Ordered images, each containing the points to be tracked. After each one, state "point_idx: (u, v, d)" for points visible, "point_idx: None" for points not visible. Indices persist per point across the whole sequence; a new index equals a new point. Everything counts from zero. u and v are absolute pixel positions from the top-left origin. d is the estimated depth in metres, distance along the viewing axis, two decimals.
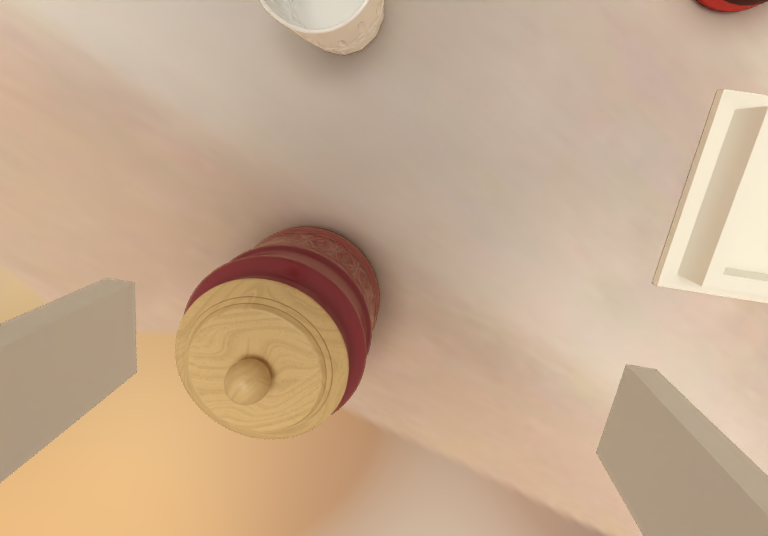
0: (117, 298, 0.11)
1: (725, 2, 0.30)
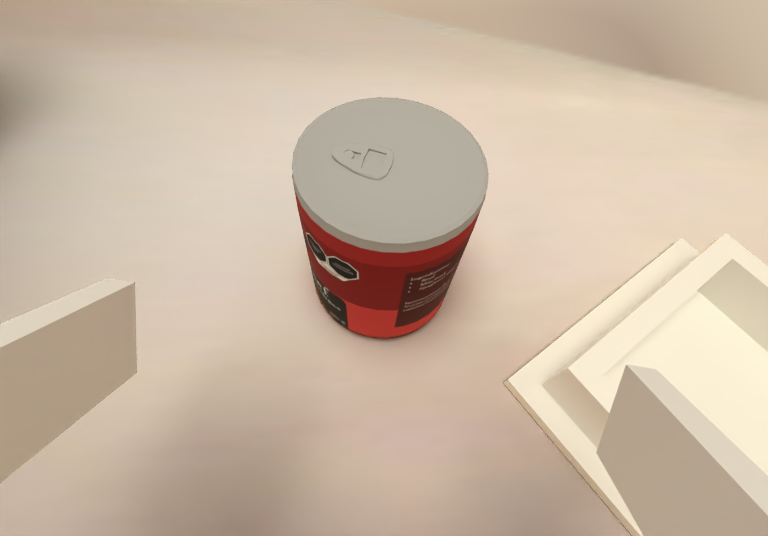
0: (117, 298, 0.11)
1: (413, 323, 0.23)
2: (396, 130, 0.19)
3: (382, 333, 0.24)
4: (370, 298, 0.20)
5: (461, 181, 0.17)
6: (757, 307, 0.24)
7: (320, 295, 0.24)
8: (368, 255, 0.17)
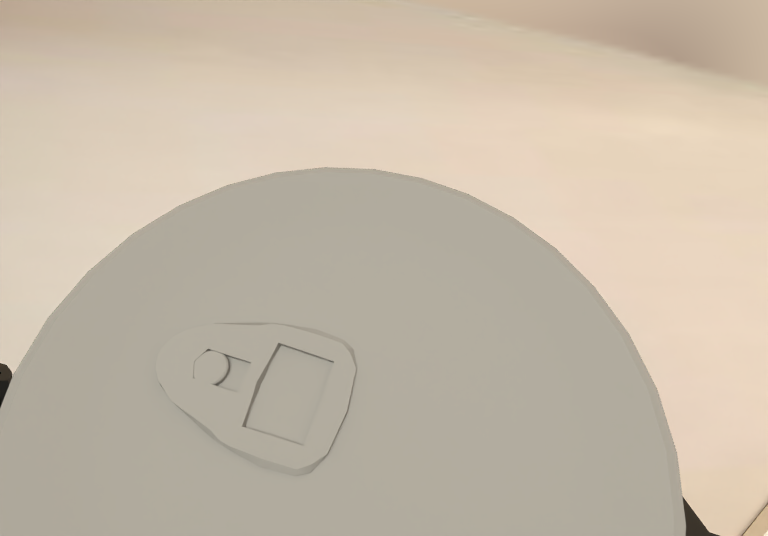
0: None
1: None
2: (369, 268, 0.06)
3: None
4: None
5: (585, 478, 0.05)
6: None
7: None
8: None
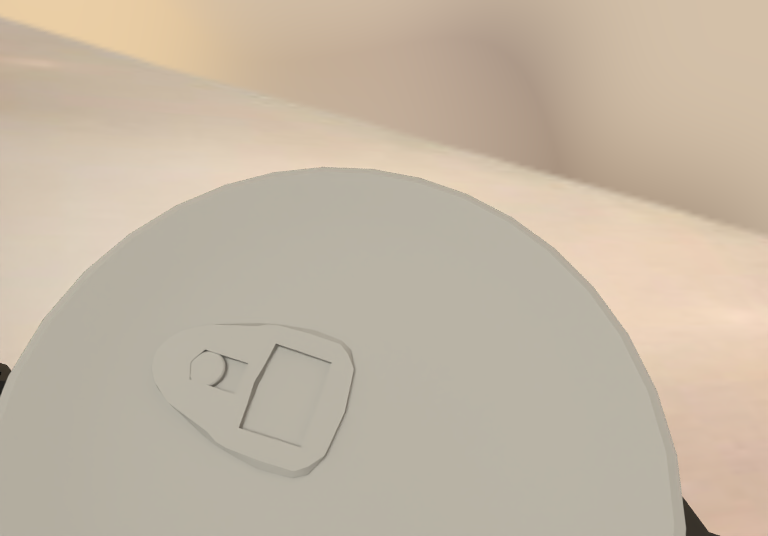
0: None
1: None
2: (367, 268, 0.06)
3: None
4: None
5: (584, 480, 0.05)
6: None
7: None
8: None
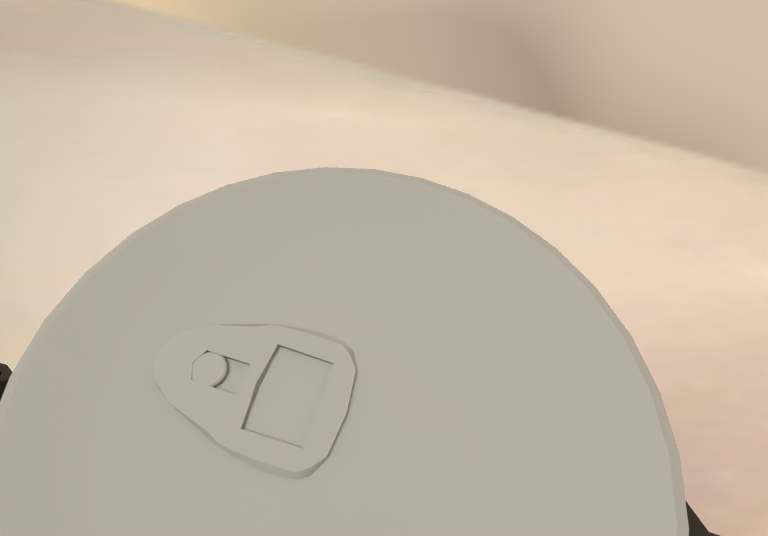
0: None
1: None
2: (369, 268, 0.06)
3: None
4: None
5: (586, 481, 0.05)
6: None
7: None
8: None
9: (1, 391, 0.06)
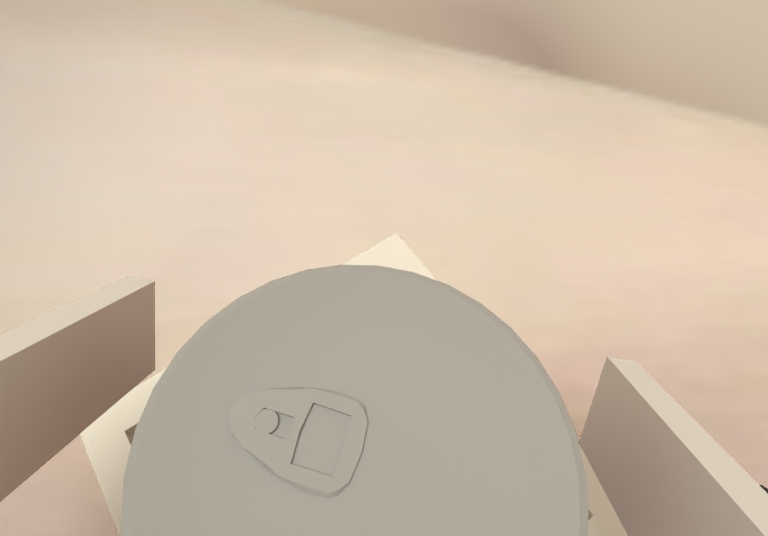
0: (138, 296, 0.11)
1: None
2: (375, 342, 0.09)
3: None
4: None
5: (524, 498, 0.07)
6: None
7: None
8: None
9: None
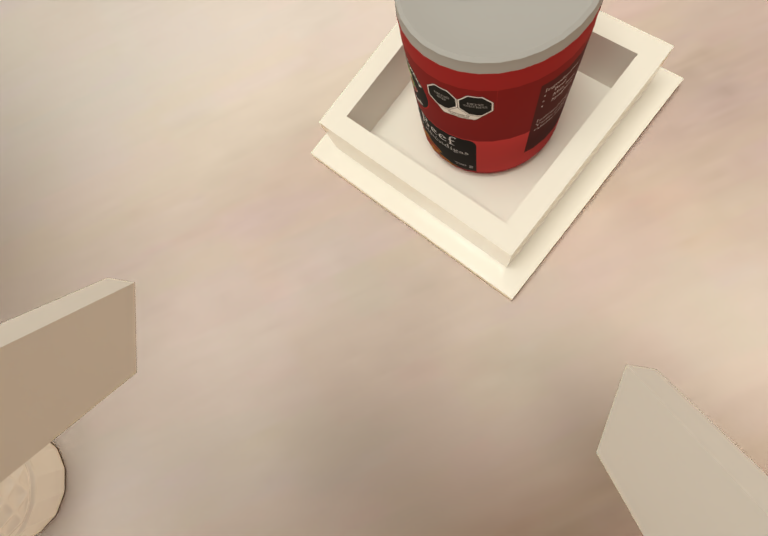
0: (117, 298, 0.11)
1: (540, 142, 0.24)
2: None
3: (511, 162, 0.24)
4: (503, 128, 0.20)
5: None
6: None
7: (442, 149, 0.25)
8: (506, 79, 0.17)
9: None
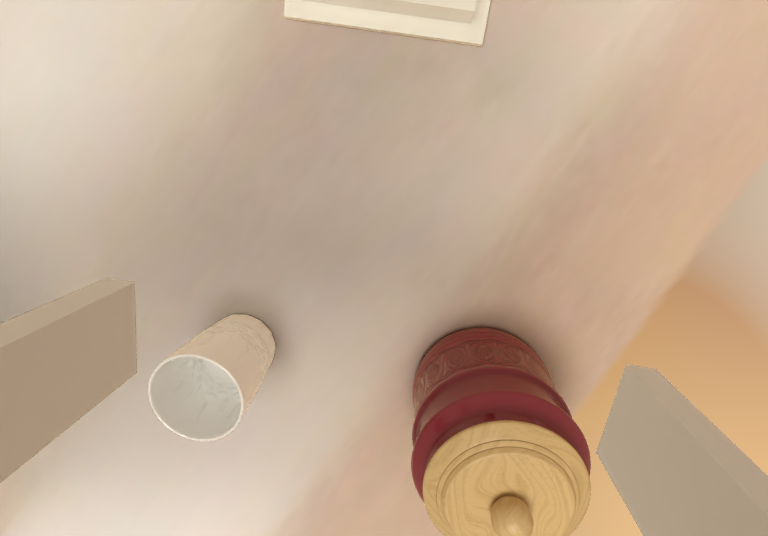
0: (117, 298, 0.11)
1: None
2: None
3: None
4: None
5: None
6: None
7: None
8: None
9: None
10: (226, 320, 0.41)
